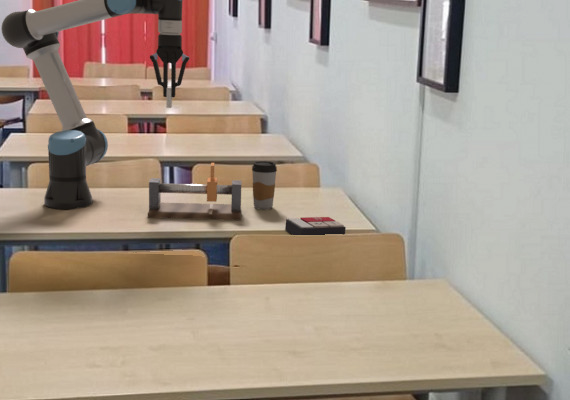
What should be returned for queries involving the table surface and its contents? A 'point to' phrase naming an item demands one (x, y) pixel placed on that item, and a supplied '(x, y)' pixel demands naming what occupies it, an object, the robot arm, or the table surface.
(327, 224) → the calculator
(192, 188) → the pipe
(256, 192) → the coffee cup
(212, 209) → the base board
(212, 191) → the orange slotted block
